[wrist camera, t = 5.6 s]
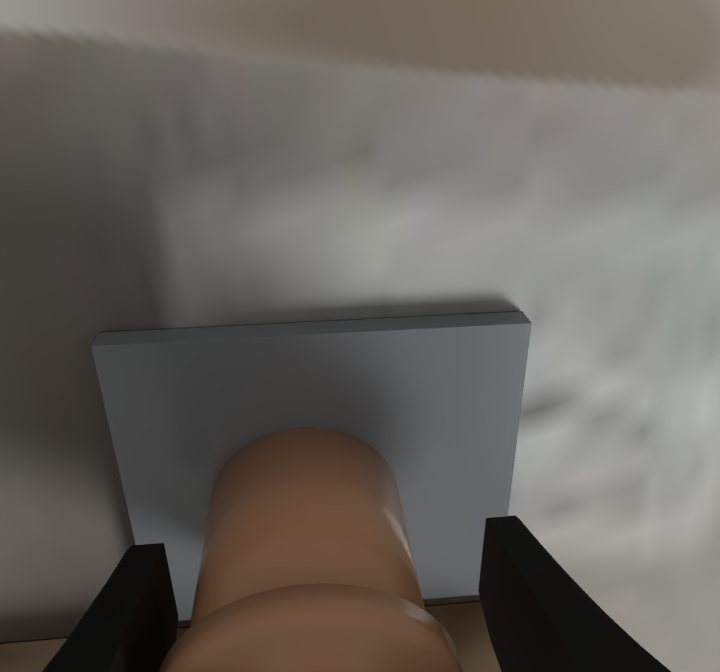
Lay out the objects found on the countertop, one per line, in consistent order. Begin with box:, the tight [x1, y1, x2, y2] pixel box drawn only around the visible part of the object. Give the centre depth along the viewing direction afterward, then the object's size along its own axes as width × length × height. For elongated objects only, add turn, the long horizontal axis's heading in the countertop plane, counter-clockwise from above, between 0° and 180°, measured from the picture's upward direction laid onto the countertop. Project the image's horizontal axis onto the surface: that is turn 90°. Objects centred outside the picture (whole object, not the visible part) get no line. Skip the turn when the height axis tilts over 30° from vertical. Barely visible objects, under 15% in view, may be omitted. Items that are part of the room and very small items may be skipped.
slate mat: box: [91, 311, 531, 621], centre depth 15 cm, size 9×8×1 cm
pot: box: [158, 427, 463, 672], centre depth 13 cm, size 5×5×6 cm
